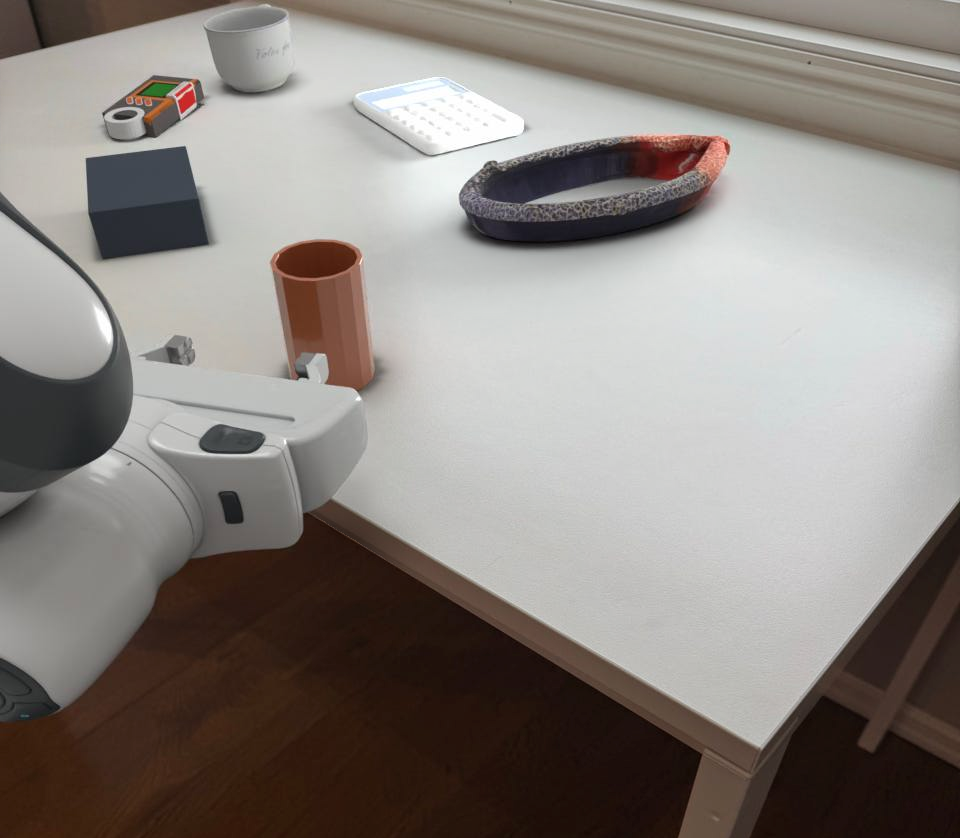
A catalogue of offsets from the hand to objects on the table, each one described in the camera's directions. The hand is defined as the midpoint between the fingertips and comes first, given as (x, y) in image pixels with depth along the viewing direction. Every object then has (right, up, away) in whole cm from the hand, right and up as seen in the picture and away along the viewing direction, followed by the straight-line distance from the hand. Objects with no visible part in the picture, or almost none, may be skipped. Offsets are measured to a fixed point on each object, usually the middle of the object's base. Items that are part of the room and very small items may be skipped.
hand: (249, 353), depth 63 cm
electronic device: (-25, +45, +57) cm, 77 cm away
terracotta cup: (+3, +2, +15) cm, 15 cm away
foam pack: (-18, +23, +35) cm, 46 cm away
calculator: (+10, +44, +55) cm, 71 cm away
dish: (+27, +25, +36) cm, 52 cm away
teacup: (-14, +56, +66) cm, 88 cm away
